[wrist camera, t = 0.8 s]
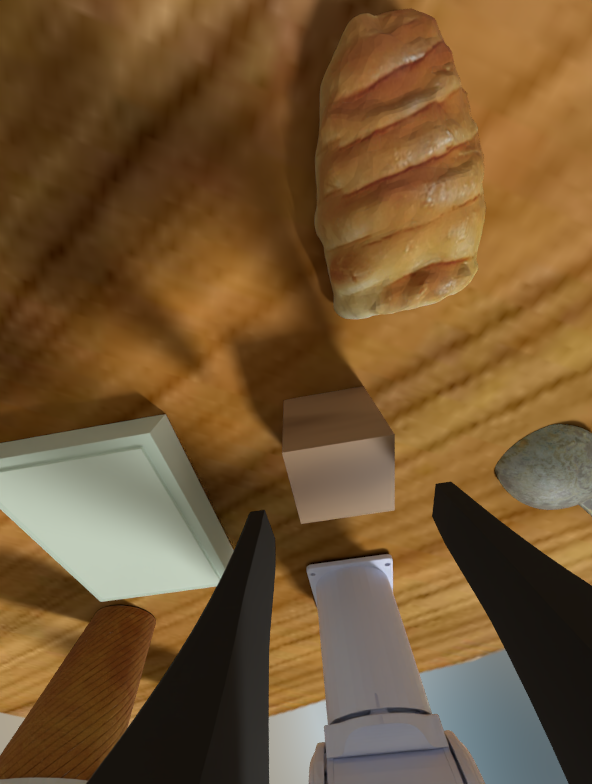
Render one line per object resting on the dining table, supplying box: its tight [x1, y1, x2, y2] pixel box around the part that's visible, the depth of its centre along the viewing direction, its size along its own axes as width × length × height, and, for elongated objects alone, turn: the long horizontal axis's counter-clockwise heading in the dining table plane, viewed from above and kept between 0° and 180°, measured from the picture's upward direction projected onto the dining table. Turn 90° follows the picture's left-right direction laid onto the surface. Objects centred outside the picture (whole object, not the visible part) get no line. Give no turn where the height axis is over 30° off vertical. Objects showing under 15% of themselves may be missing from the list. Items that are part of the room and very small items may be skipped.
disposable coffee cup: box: [0, 605, 156, 784], centre depth 22 cm, size 10×10×12 cm
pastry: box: [314, 9, 486, 319], centre depth 9 cm, size 9×7×4 cm
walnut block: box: [282, 386, 395, 524], centre depth 14 cm, size 5×5×5 cm
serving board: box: [0, 414, 234, 602], centre depth 18 cm, size 16×12×2 cm
